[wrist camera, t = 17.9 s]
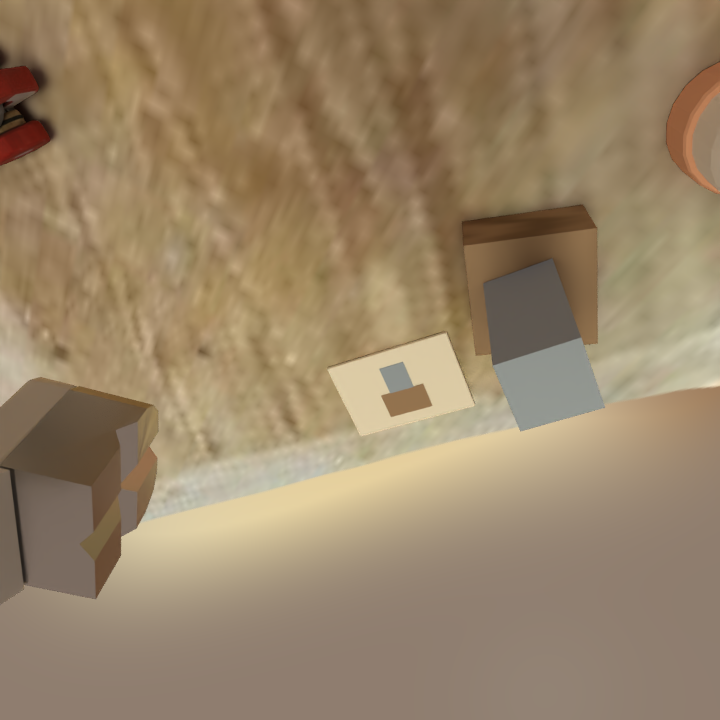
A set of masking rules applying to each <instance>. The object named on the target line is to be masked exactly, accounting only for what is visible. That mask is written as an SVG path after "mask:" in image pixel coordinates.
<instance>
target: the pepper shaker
mask: <svg viewBox="0 0 720 720" xmlns="http://www.w3.org/2000/svg"><path fill="white" fill-rule="evenodd" d="M666 143H667V146H668V149H669V152H670V155H671V158H672V160H673V161H674V162H675V163H676V164H677V165H678V166H679V168H680V169H681V170H682V171H683V172H684V173H685V174H687V175H688V176H689V177H690V178H692V179H693V180H694V181H695V182H697V183H698V184H699V185H701V186H703V187H704V188H706V189H708V190H710V191H712V192H714V193H716V194H720V62H719V63H717V64H715V65H713V66H711V67H709V68H707V69H705V70H703V71H702V72H701V73H700V74H698V75H697V76H696V77H695V78H694V79H693V80H692V81H691V82H689V83H688V84H687V85H686V86H685V88H684V89H683V91H682V92H681V93H680V95H679V96H678V98H677V99H676V101H675V102H674V104H673V106H672V109H671V112H670V115H669V118H668V121H667V133H666Z"/></svg>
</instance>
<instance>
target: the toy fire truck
mask: <svg viewBox="0 0 720 720" xmlns="http://www.w3.org/2000/svg"><path fill="white" fill-rule="evenodd" d="M38 89H39V87H38V84H37V82H36V81H35V79H34V77H33V75H32V74H31V72H30V70H29V69H28V68H27V67H26V66H20V67H14V68H5V69H0V165H3V164H7V163H9V162H11V161H13V160H16V159H18V158H20V157H22V156H24V155H26V154H28V153H30V152H33V151H35V150H37V149H38V148H40V147H42V146H43V145H45V144H47V143H48V142H49V141H50V138H49V135H48V134H47V132H46V131H45V129H44V127H43V126H42V124H41V123H40V122H39V121H36V120H32V121H29V122H27V123H26V122H25V120H24V116H23V115H21V114H20V113H19V111H18V110H15V109H14V108H13V106H15V105H16V104H18V103H20V102H22V101H23V100H25V99H26V98H28V97H30V96H32V95H33V94H35V93H36V92H37V91H38Z"/></svg>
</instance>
